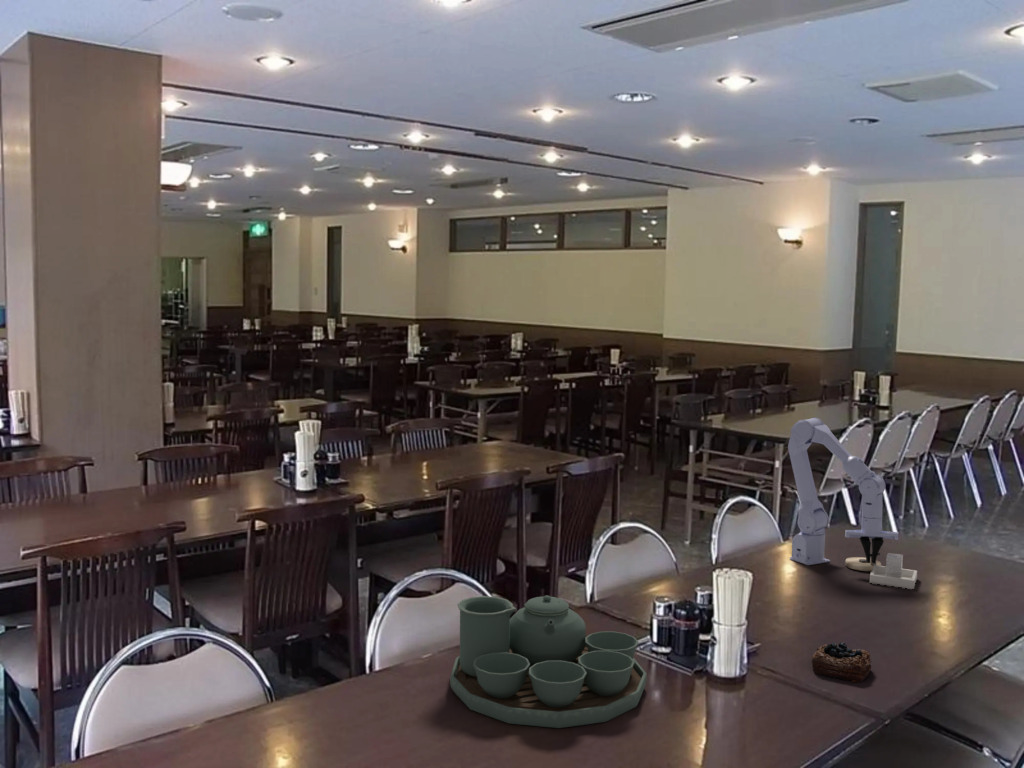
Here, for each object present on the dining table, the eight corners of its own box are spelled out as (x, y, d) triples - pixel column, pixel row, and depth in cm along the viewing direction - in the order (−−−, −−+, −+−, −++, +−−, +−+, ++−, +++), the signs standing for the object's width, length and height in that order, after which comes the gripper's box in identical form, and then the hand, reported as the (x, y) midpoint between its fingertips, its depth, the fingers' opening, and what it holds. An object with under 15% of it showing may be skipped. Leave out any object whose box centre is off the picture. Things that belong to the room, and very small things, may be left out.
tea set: (500, 747, 162) (501, 657, 161) (425, 665, 199) (425, 591, 197) (686, 709, 179) (688, 626, 177) (585, 640, 215) (587, 571, 214)
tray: (869, 583, 262) (869, 574, 261) (874, 573, 272) (874, 564, 272) (913, 589, 256) (914, 581, 256) (916, 579, 267) (917, 570, 266)
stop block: (885, 579, 264) (886, 556, 263) (886, 576, 267) (888, 552, 266) (900, 582, 262) (901, 558, 261) (901, 578, 265) (903, 554, 265)
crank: (838, 563, 280) (838, 547, 280) (862, 560, 284) (863, 544, 284) (863, 572, 271) (863, 555, 271) (888, 569, 275) (889, 552, 275)
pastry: (864, 686, 191) (866, 659, 190) (805, 673, 197) (807, 647, 196) (874, 668, 200) (875, 642, 200) (817, 657, 206) (818, 632, 206)
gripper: (894, 515, 274) (893, 560, 274) (843, 513, 277) (842, 558, 277) (900, 519, 267) (899, 566, 268) (847, 517, 270) (846, 563, 270)
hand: (870, 562), depth 272 cm, fingers closed, pressing on crank
